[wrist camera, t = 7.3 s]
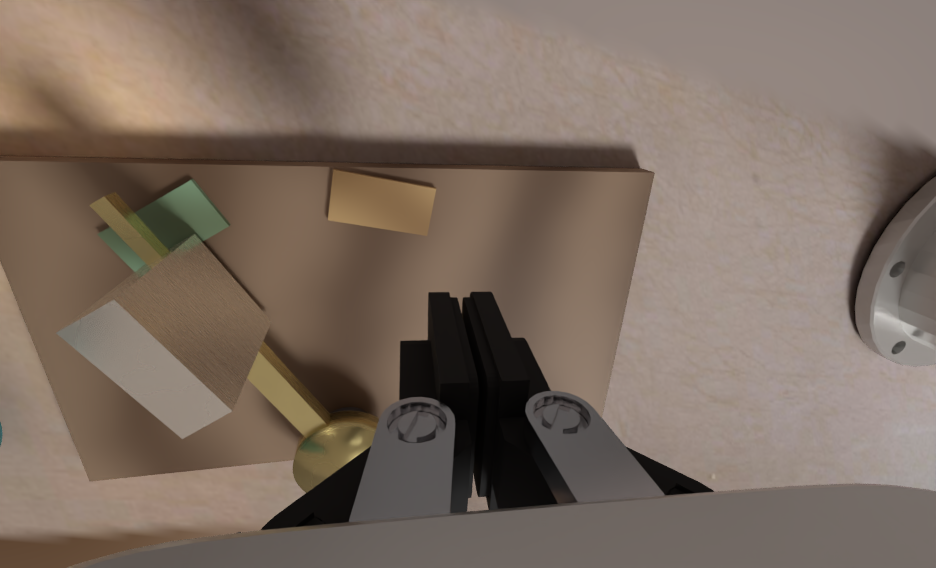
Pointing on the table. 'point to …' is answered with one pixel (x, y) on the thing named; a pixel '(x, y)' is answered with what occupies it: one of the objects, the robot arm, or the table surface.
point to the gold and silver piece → (202, 348)
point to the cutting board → (320, 278)
